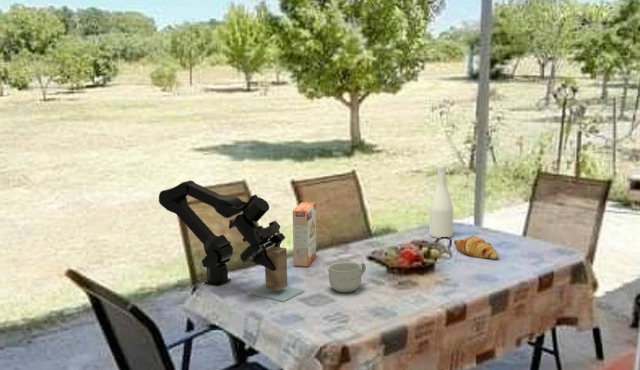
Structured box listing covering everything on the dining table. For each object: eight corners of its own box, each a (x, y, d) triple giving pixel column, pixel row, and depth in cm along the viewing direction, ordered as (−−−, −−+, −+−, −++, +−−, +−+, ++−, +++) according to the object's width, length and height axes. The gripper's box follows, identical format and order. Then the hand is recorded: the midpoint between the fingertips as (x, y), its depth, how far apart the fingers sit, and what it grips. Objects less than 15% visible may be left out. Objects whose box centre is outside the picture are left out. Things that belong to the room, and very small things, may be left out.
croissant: (502, 268, 240) (509, 247, 240) (486, 260, 234) (494, 239, 234) (458, 253, 257) (465, 234, 257) (443, 246, 251) (450, 227, 251)
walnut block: (265, 288, 208) (264, 250, 206) (274, 283, 212) (273, 246, 210) (279, 290, 206) (277, 252, 203) (287, 285, 210) (286, 248, 207)
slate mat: (248, 293, 209) (248, 292, 209) (270, 283, 218) (270, 282, 217) (283, 302, 201) (283, 301, 201) (304, 291, 210) (304, 290, 210)
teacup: (338, 297, 204) (338, 273, 202) (322, 287, 213) (321, 263, 212) (376, 289, 210) (376, 265, 209) (359, 279, 220) (358, 257, 218)
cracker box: (309, 267, 234) (308, 210, 230) (293, 266, 235) (291, 210, 231) (317, 256, 247) (316, 201, 243) (301, 255, 248) (300, 201, 244)
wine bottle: (429, 238, 267) (430, 166, 262) (429, 232, 277) (430, 162, 271) (452, 239, 266) (454, 166, 260) (452, 233, 275) (453, 162, 269)
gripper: (246, 221, 198) (278, 261, 195) (279, 208, 214) (309, 245, 211) (226, 243, 203) (257, 282, 200) (260, 229, 220) (289, 265, 216)
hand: (279, 267), depth 207 cm, fingers closed on walnut block, 5 cm apart
